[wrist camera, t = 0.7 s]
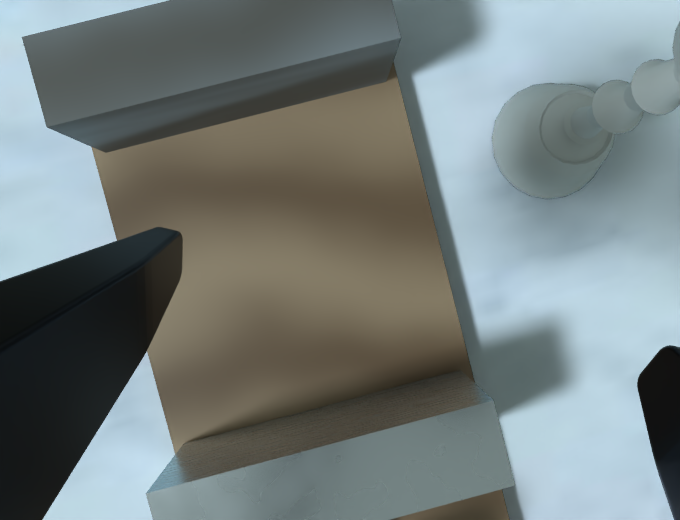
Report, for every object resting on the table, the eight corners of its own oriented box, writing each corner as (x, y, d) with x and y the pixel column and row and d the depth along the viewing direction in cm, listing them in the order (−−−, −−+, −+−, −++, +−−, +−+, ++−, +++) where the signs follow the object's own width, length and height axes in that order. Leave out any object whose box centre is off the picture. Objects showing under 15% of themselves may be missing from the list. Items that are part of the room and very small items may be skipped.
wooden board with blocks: (532, 628, 21) (594, 742, 16) (252, 706, 21) (229, 845, 16) (377, 18, 20) (393, -55, 15) (84, 91, 20) (7, 40, 15)
